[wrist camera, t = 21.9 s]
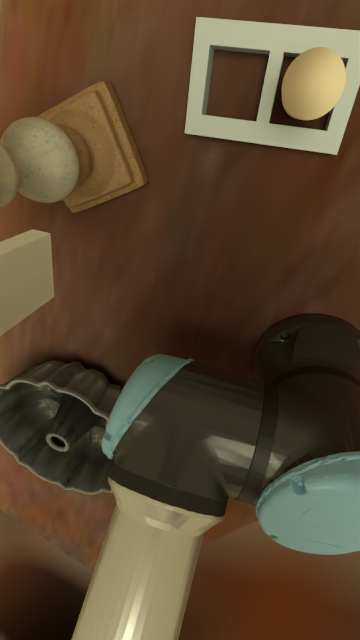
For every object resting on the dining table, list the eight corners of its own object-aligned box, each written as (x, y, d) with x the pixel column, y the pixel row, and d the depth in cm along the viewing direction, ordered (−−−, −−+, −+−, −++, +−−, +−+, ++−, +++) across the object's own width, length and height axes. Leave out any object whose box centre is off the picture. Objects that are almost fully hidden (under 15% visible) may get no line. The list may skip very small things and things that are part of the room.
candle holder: (151, 183, 40) (23, 245, 20) (78, 211, 44) (-85, 287, 25) (111, 79, 36) (-100, 30, 16) (35, 122, 40) (-206, 125, 20)
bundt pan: (12, 406, 70) (-24, 444, 62) (39, 316, 56) (-4, 351, 48) (122, 467, 72) (101, 513, 63) (176, 395, 57) (158, 443, 49)
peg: (331, 70, 31) (354, 48, 21) (319, 121, 33) (334, 122, 23) (287, 68, 32) (289, 45, 22) (277, 117, 34) (275, 117, 24)
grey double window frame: (369, 38, 29) (376, 32, 27) (333, 152, 34) (336, 154, 32) (202, 23, 32) (196, 16, 30) (190, 132, 36) (184, 133, 34)
